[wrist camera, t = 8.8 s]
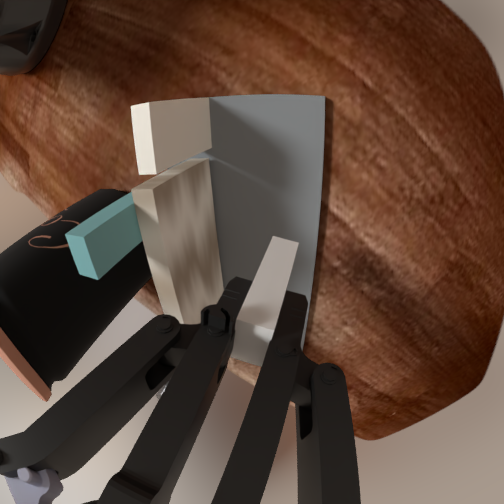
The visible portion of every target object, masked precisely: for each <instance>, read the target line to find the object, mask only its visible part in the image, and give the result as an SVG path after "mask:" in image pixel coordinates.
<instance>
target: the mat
mask: <svg viewBox="0 0 504 504" xmlns="http://www.w3.org/2000/svg"><path fill="white" fill-rule="evenodd" d="M209 108H210V125H211V141H212V148H210V149H208V150H206V151H204V152H201V153H199V154H197V155H195V156H193V157H191V158H188V159H186V160H184V161H182V162H180V163H178V164H181V163H183V162H185V161H187V160H189V159H193V158H209V165H210V175H211V185H212V195H213V205H214V214H215V223H216V231H217V240H218V248H219V256H220V264H221V272H222V280H223V287H224V290H225V288H226V286H227V284H228V282H229V281H230V280H232V279H233V278H235V277H236V276H237V277H240V278H244V279H247V280H251V281H253V280H254V278H255V276H256V274H257V271H258V269H259V267H260V264H261V262H262V260H263V258H264V255H265V253H266V251H267V249H268V246H269V244H270V242H271V239H272V237H273V236H276V237H279V238H283V239H287V240H291V241H294V242H298V243H299V244H298V248H297V252H296V255H295V259H294V263H293V267H292V270H291V274H290V278H289V281H288V285H287V288H286V290H288V291H292V292H295V293H299V294H303V295H306V298H307V301H308V308H307V314H306V319H305V324H304V329H303V334H302V339H301V349H302V351H303V345H304V339H305V333H306V327H307V320H308V313H309V306H310V299H311V292H312V284H313V276H314V268H315V259H316V250H317V240H318V230H319V219H320V207H321V193H322V178H323V160H324V135H325V96H313V95H286V94H263V95H235V96H220V97H209ZM178 164H176V165H178ZM176 165H174V166H176ZM174 166H172V167H174ZM172 167H170V168H172ZM170 168H168V169H170ZM168 169H167V170H168Z"/></svg>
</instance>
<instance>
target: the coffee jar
mask: <svg viewBox="0 0 504 504" xmlns="http://www.w3.org/2000/svg"><path fill="white" fill-rule="evenodd" d="M125 195H127V193H124V192H122V191H118V190H115V189H100V190H98V191H96V192H94V193H93V194H91V195H89V196H87V197H85V198H84V199H82V200H80V201H78V202H77V203H75V204H73V205H72V206H70V207H68V208H67V209H65V210H63V211H62V212H60V213H58V214H57V215H55V216H54V217H52V218H50V219H49V220H47V221H46V222H44V223H43V224H41V225H40V226H38V227H37V228H35V229H34V230H32V231H31V232H29V233H28V234H27V235H25V236H24V237H22V238H21V239H20V240H18V241H17V242H15V243H14V244H13V245H11V246H10V247H9V248H7V249H6V250H5V251H3V252H2V253H1V254H0V357H1V358H2V359H3V360H4V362H5V363H6V364H7V365H8V366H9V367H10V368H11V370H12V371H13V372H14V373H15V374H16V375H17V376H18V377H19V378H20V379H21V380H22V381H23V382H24V384H26V385H27V386H28V387H29V388H30V389H31V390H32V391H33V392H34V393H35V394H36V395H37V396H38V397H40V398H41V399H42V400H44V401H46V402H47V401H48V400H49V398H50V396H51V395H52V394H51V387H52V384H53V382H54V381H61V380H63V379H65V378H66V377H67V375H68V374H69V373H70V371H71V370H72V369H73V368H74V367H75V365H76V364H77V363H78V362H79V360H80V359H81V358H82V357H83V355H84V354H85V353H86V352H87V350H88V349H89V348H90V347H91V345H92V344H93V343H94V342H95V341H96V339H97V338H98V337H99V336H100V335H101V334H102V332H103V331H104V330H105V329H106V328H107V326H108V325H109V324H110V323H111V322H112V321H113V319H114V318H115V317H116V316H117V315H118V314H119V313H120V311H121V310H122V309H123V308H124V307H125V306H126V305H127V303H128V302H129V301H130V300H131V299H132V298H133V297H134V296H135V295H136V293H137V292H138V291H139V290H140V289H141V288H142V287H143V286H144V285H145V283H146V282H147V281H148V280H149V279H150V278H151V277H152V273H151V270H150V266H149V263H148V259H147V255H146V252H145V248H144V244H143V241H141V242H140V243H139V244H138V245H137V246H136V247H135V248H133V249H132V250H131V251H130V252H129V253H128V254H127V255H125V256H124V257H123V258H122V259H121V260H120V261H119V262H118V263H116V264H115V265H114V266H113V267H112V268H111V269H110V270H109V271H108V272H107V273H106V274H104V275H103V276H102V277H101V278H100V279H99V280H97V279H93V278H90V277H87V276H83V275H80V274H79V272H78V269H77V266H76V264H75V261H74V258H73V256H72V253H71V250H70V247H69V244H68V242H67V239H66V236H65V234H66V233H67V232H69V231H70V230H72V229H73V228H75V227H76V226H78V225H79V224H81V223H82V222H84V221H85V220H87V219H88V218H90V217H91V216H93V215H94V214H96V213H97V212H99V211H101V210H102V209H104V208H105V207H107V206H109V205H110V204H112V203H113V202H115V201H117V200H118V199H120V198H122V197H123V196H125Z"/></svg>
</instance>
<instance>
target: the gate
mask: <svg viewBox="0 0 504 504" xmlns="http://www.w3.org/2000/svg"><path fill="white" fill-rule="evenodd" d="M131 191H132V196H133V201H134V206H135V210H136V215H137V219H138V224H139V228H140V232H141V236H142V240H143V244H144V248H145V252H146V255H147V259H148V263H149V266H150V270H151V273H152V277H153V280H154V284H155V287H156V290H157V293H158V297H159V300H160V303H161V306H162V309H163V312H164V314H167V315H171V316H174V317H175V318H176V319H178V320H179V323H180V324H199V323H201V310H202V309H203V308H204V307H206V306H208V305H213V304H217V302H218V300H219V299H220V297H221V296H222V293H223V291H224V287H223V280H222V272H221V264H220V256H219V248H218V240H217V231H216V223H215V214H214V205H213V195H212V185H211V175H210V165H209V158H193V159H189V160H187V161H185V162H183V163H181V164H178V165H176V166H174V167H172V168H170V169H168V170H167V171H165V172H163V173H161V174H159V175H157V176H155V177H153V178H151V179H149V180H147V181H146V182H144V183H142V184H140V185H138V186H137V187H135V188H133V189H131Z"/></svg>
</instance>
